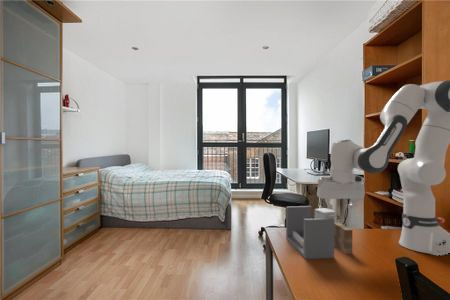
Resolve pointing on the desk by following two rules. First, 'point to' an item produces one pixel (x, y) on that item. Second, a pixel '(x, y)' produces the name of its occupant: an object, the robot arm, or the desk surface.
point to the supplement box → (325, 213)
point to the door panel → (342, 238)
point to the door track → (309, 233)
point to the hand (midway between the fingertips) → (340, 208)
